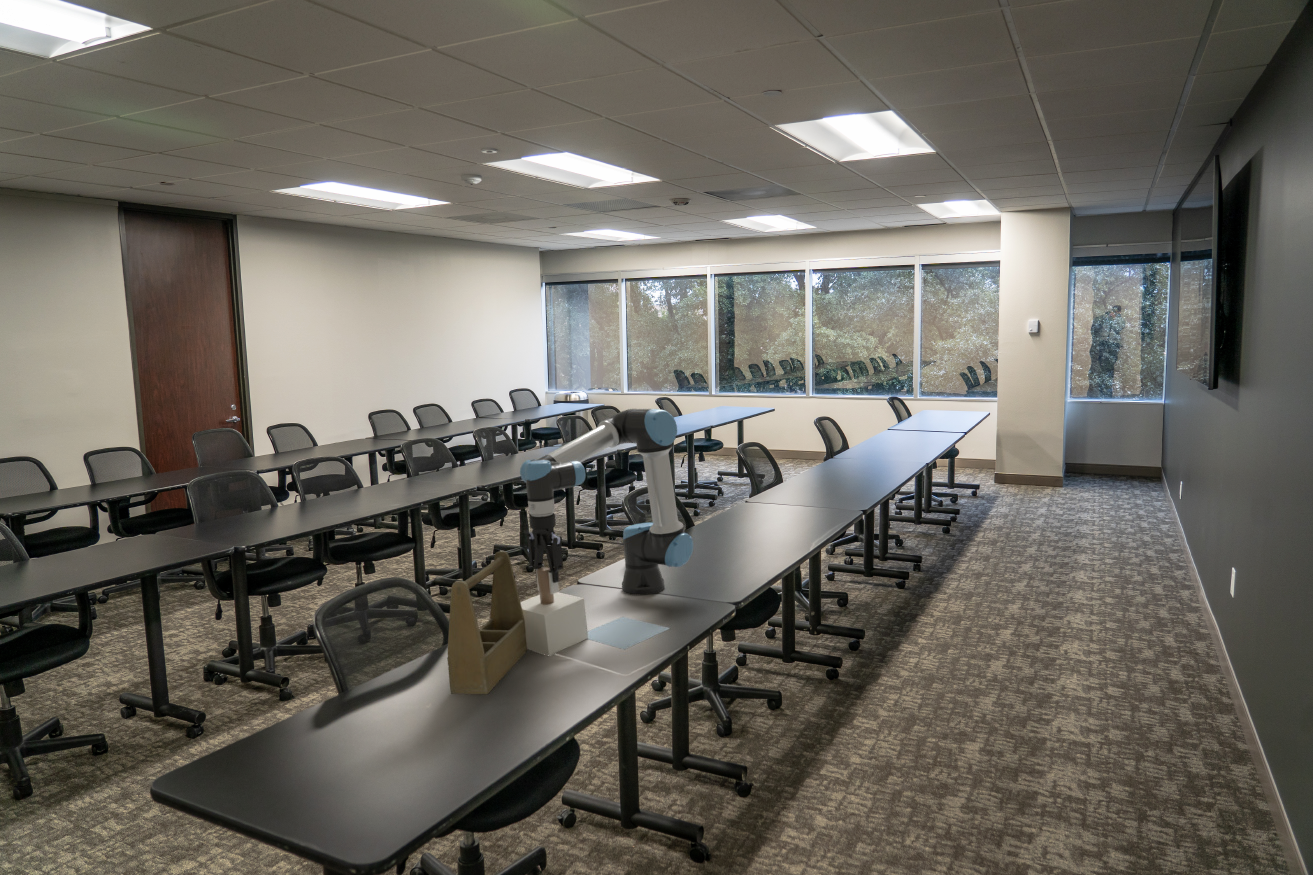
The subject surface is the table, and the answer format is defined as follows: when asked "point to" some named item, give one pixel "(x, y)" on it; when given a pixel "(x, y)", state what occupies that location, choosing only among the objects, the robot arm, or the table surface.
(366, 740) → the table surface
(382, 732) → the table surface
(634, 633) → the mat
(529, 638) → the cover box
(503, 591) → the caddy
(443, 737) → the table surface
